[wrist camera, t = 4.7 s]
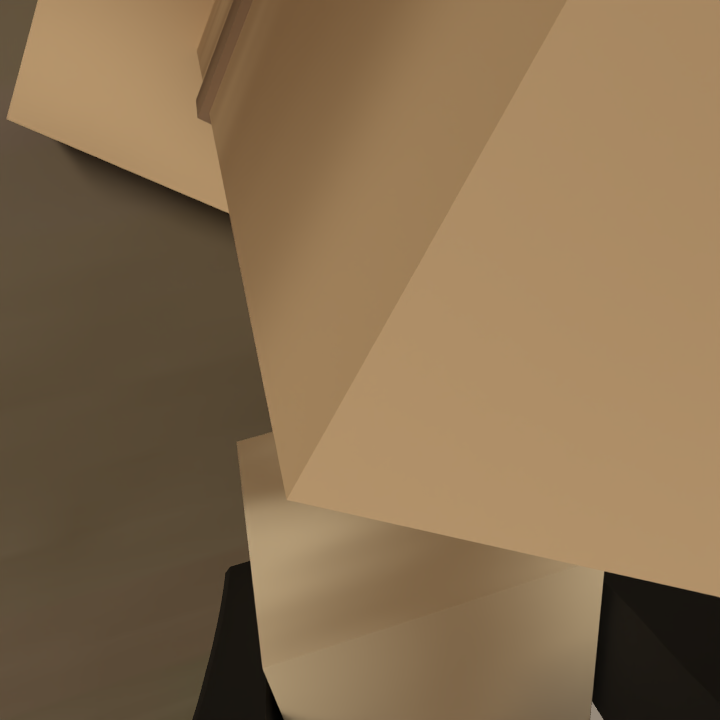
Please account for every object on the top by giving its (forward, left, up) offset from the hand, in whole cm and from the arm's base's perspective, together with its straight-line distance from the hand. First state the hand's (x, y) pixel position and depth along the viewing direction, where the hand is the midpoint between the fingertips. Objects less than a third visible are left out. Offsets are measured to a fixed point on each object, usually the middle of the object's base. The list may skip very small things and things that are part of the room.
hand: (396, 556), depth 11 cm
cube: (0, 0, -2) cm, 2 cm away
